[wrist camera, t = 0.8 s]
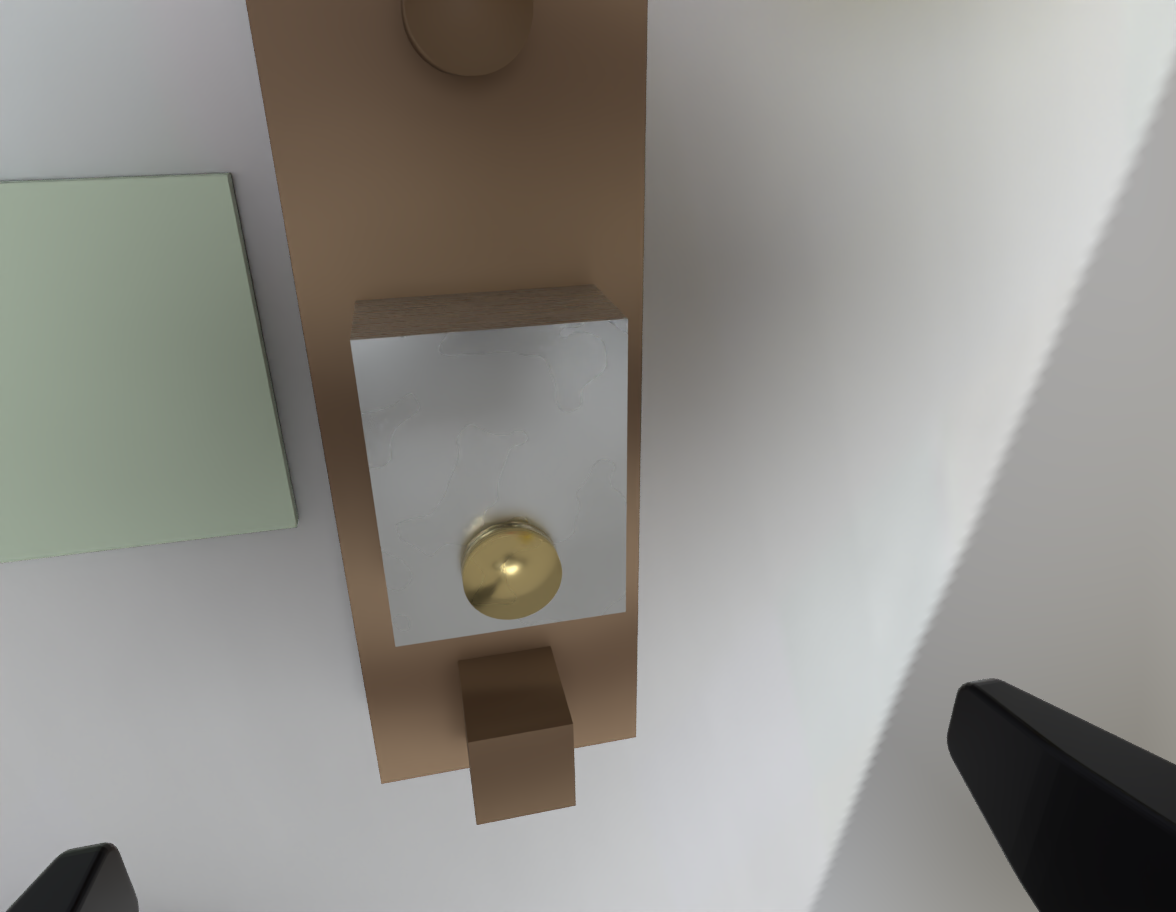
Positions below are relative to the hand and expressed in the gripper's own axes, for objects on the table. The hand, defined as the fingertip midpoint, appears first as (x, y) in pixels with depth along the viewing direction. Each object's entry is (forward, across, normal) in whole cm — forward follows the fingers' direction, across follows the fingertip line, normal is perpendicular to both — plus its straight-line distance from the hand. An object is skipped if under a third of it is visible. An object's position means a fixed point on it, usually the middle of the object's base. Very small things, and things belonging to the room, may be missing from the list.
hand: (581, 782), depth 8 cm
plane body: (+12, 0, 0) cm, 12 cm away
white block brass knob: (+9, 0, 0) cm, 9 cm away
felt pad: (+12, +8, -1) cm, 15 cm away
